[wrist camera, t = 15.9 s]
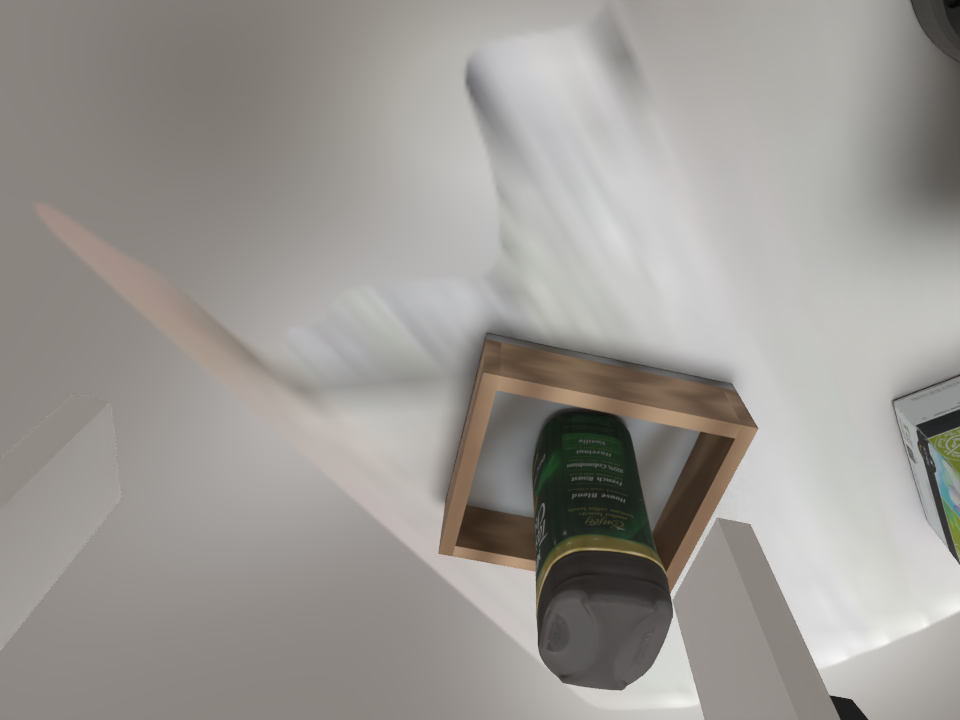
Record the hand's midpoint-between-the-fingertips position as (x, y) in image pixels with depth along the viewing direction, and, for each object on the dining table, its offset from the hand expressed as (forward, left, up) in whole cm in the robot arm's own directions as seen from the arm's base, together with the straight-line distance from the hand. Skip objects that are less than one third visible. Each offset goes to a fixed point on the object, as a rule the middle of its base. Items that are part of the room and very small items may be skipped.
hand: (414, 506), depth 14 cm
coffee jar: (-13, +21, -32) cm, 40 cm away
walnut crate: (-13, +21, -33) cm, 41 cm away
